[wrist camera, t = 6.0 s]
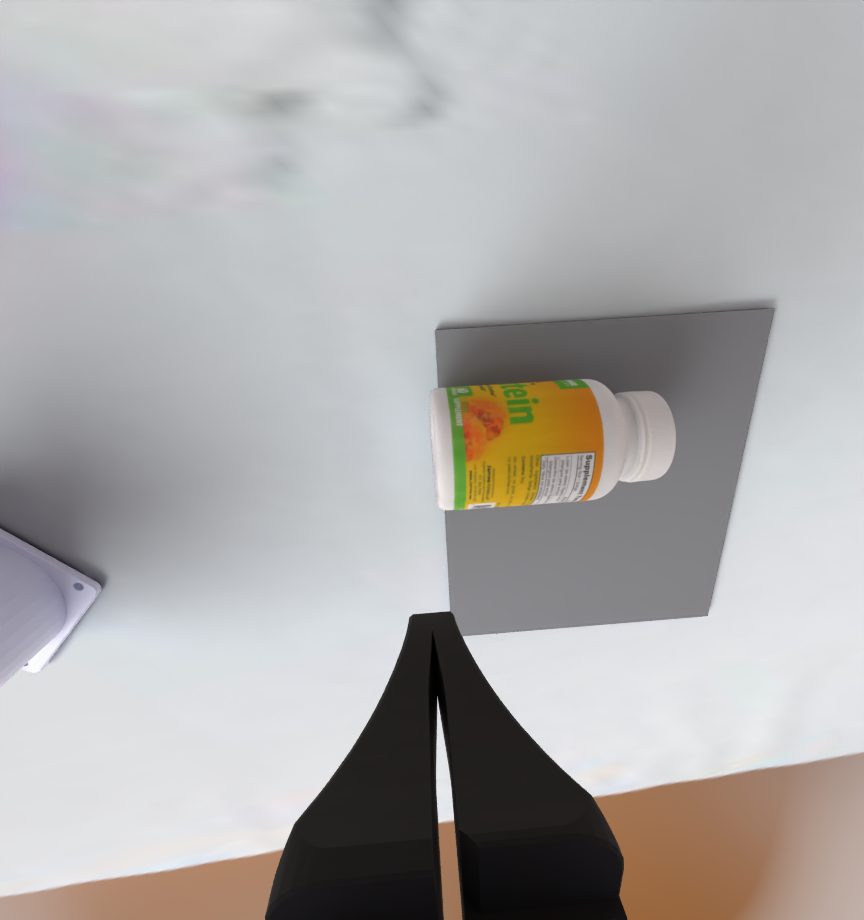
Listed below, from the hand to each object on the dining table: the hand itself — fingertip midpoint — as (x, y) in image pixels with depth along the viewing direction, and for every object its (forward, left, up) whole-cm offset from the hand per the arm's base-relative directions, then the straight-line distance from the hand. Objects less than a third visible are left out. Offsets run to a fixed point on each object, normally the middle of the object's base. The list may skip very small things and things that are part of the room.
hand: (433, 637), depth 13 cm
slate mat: (+6, +6, -10) cm, 13 cm away
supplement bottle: (-3, +3, -7) cm, 8 cm away
